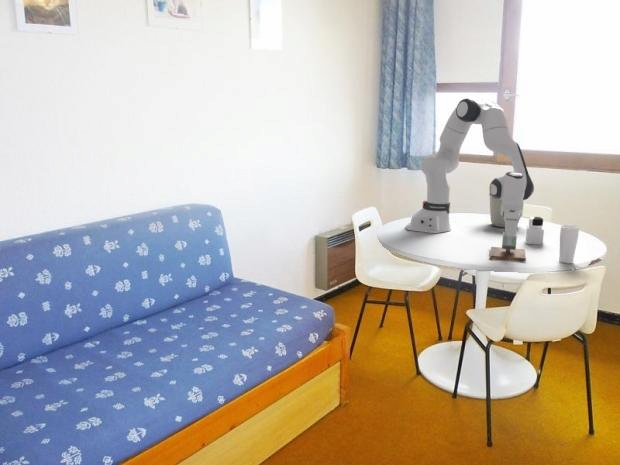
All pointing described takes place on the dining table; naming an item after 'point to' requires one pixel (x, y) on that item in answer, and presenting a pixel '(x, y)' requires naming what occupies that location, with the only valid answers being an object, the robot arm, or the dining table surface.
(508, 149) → the robot arm
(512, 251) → the pin board
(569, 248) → the drinking glass
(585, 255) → the dining table surface
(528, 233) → the medicine bottle
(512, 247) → the sleeve
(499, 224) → the canister
